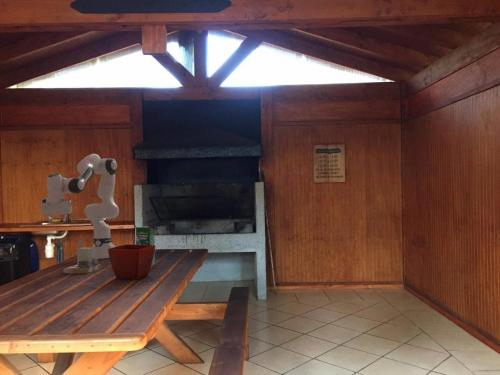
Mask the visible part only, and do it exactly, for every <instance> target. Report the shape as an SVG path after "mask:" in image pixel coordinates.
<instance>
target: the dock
mask: <svg viewBox="0 0 500 375" xmlns="http://www.w3.org/2000/svg"><path fill="white" fill-rule="evenodd" d="M100 269H102V264H101V263H100V264H99V259H98V258H93V260H90V261H79V267H78V265H77V264H74V265H72V266H68V267H64V268H63V274H90V273H92V272H94V271H98V270H100ZM89 272H90V273H89Z"/></svg>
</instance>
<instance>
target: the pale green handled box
mask: <svg viewBox="0 0 500 375" xmlns="http://www.w3.org/2000/svg"><path fill="white" fill-rule="evenodd" d="M83 243H84V242H83V240H78V241H77V248H76V256H77V258H76V259H77V260H76V261H77V262H76V263H77V264H76V265H78V267H79V261H90V260H93V253H92V247H83Z"/></svg>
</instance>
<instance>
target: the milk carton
mask: <svg viewBox="0 0 500 375" xmlns="http://www.w3.org/2000/svg"><path fill="white" fill-rule="evenodd" d="M135 245H155V246H156V244H155V229H154V228H152V227H150V226H145V225H144V226H142V227H141V226H140V227H139V226H136V227H135ZM155 254H156V253H155V252H154V256H153V261H152V264H151V267H152V266H154V265H155V263H156V260H155V259H156V257H155V256H156V255H155Z"/></svg>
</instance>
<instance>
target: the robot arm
mask: <svg viewBox="0 0 500 375" xmlns="http://www.w3.org/2000/svg"><path fill="white" fill-rule="evenodd" d="M76 168H77V172H78V173H79V174H80V175H79V176H78V177H70V178H66V177H64V176H62V175H61V174H60V173H52V174H49V175H48V176H47V179H46V189H47V197H45V198H42V199H41V200H40V213H41V215H42V216H46V217H47V219H48V222H49V223H52V222H54V219H53V218H52V215H63V218H62V219H61V220H62V222H67V218H68V215H69V214H72V213H73V211H74V210H73V206H72V201H71V200H70V199H69V198H64V194H81V193H82V192H83V191H84V190H85V187H86V185H87V184H88V182H90V180H91V178H92V177H93V176H94V175H100V181H99V184H98V188H97V192H96V194H97V196H98V198H99V199H101V203H91V204H87V205H86V206H85V208H84V215H85V216H86V218H87V219H89V220H90V223H91V224H92V227H93V238H92V239H93V240H92V242H93V244H92V246H91V248H92V253H93V258H98V260H102V259H110V258H109V253H108V249H109V248H113V247H117V246H116V245H115V244H113V242H112V241H113V240H114V238H113V237H112V236H111V227H110V225H109V224H108V223H106V222H105V220H106V219H107V220H108V219H109V220H110V219H114V218H117V217H118V215H120V214H119V213H120V208H119V206H118V205H117V204H116V203H115V201H114V200H115V199H114V194H115V193H114V192H115V187H116V171H118V161H116V159H114V158H111V157H110V158H109V157H108V158H101V157H100V155H99V154H96V153H90V154H88V155H87V156H85V157H83V159H81V160H80V161H79V162H78V164H77V165H76ZM104 219H105V220H104Z"/></svg>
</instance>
